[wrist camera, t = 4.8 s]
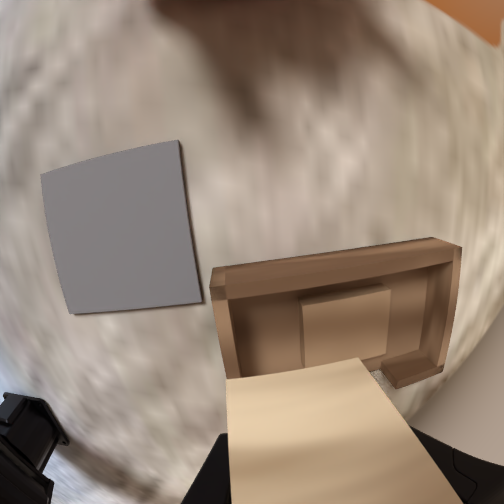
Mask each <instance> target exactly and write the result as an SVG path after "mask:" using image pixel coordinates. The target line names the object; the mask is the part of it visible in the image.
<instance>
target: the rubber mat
mask: <svg viewBox="0 0 504 504" xmlns="http://www.w3.org/2000/svg"><path fill="white" fill-rule="evenodd" d="M41 184H42V193H43V201H44V208H45V214H46V220H47V226H48V232H49V237H50V242H51V247H52V251H53V256H54V260H55V264H56V269H57V273H58V276H59V280H60V284H61V288H62V291H63V295H64V298H65V301H66V305H67V308H68V311H69V314H78V313H92V312H105V311H118V310H129V309H140V308H150V307H160V306H170V305H179V304H188V303H197V302H202V295H201V290H200V284H199V279H198V273H197V267H196V262H195V256H194V249H193V243H192V237H191V230H190V224H189V217H188V210H187V203H186V196H185V188H184V181H183V173H182V165H181V156H180V147H179V140H174V141H168V142H163V143H157V144H152V145H148V146H143V147H138V148H134V149H129V150H125V151H121V152H116V153H112V154H108V155H104V156H101V157H97V158H93V159H89V160H86V161H82V162H79V163H75V164H72V165H69V166H65V167H62V168H59V169H56V170H53V171H50V172H47V173H44V174H41Z"/></svg>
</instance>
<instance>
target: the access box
mask: <svg viewBox="0 0 504 504" xmlns="http://www.w3.org/2000/svg"><path fill="white" fill-rule="evenodd" d="M461 256H462V247H460V246H457V245H454V244H451V243H449V242H446V241H443V240H440V239H437V238H434V237H429V238H423V239H416V240H409V241H403V242H396V243H389V244H382V245H375V246H368V247H362V248H355V249H348V250H341V251H333V252H326V253H319V254H312V255H305V256H298V257H290V258H283V259H276V260H268V261H261V262H253V263H246V264H238V265H231V266H223V267H216V268H213V269H212V275H211V280H210V286H209V288H210V294H211V300H212V305H213V311H214V316H215V322H216V327H217V332H218V337H219V343H220V348H221V353H222V358H223V363H224V367H225V372H226V377H227V379H237V378H245V377H253V376H261V375H268V374H275V373H281V372H287V371H293V370H299V369H305V368H310V367H315V366H320V365H325V364H330V363H335V362H339V361H344V360H348V359H353V358H357V357H358V358H359V359H360V361H361V362H362V363H363V365H364V366H365V367H366V369H367V370H368V371H369V372H370V371H374V370H377V369H381V370H382V372H383V373H384V374H385V376H386V377H387V378H388V380H389V381H390V382H391V384H392V385H393V386H394V388H395V389H399V388H402V387H404V386H407V385H410V384H413V383H415V382H418V381H421V380H423V379H426V378H428V377H431V376H433V375H436V374H438V373H441V372H443V368H444V364H445V360H446V356H447V351H448V347H449V342H450V338H451V333H452V327H453V322H454V316H455V310H456V303H457V296H458V288H459V279H460V268H461Z"/></svg>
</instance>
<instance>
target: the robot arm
mask: <svg viewBox="0 0 504 504" xmlns="http://www.w3.org/2000/svg"><path fill="white" fill-rule="evenodd" d="M3 397H4V399H5V400H4V401H3V402H2V404H1V405H0V504H51V498H52V492H53V487H54V482H53V481H52V480H51V479H48V478H47V477H46V476H45V475H43V474H42V473H43V470H44V468H45V466H46V464H47V462H48V460H49V458H50V456H51V455H52V453H53V451H54V449H55V447H56V445H57V444H60V445H65V446H68V445H69V440H68V439H67V437H66V436H65V434H64V433H63V431H62V430H61V428H60V427H59V425H58V424H57V422H56V420H55V419H54V417H53V416H52V414H51V412H50V411H49V409H48V407H47V405H46V404H45V402H44V401H43V400H42V399H40V398H34V397H28V396H22V395H17V394H11V393H7V392H5V393H4V394H3ZM408 426H409V427H410V428H411V430H412V431H413V433H414V434H415V435H416V437H417V438H418V440H419V441H420V442H421V444H422V445H423V447H424V448H425V449H426V451H427V452H428V454H429V455H430V456H431V458H432V459H433V461H434V462H435V463H436V465H437V466H438V468H439V469H440V471H441V472H442V473H443V475H444V476H445V478H446V479H447V481H448V482H449V483H450V485H451V486H452V488H453V489H454V491H455V492H456V494H457V495H458V497H459V498H460V499H461V501H462V502H463V504H504V466H501V465H498V464H494V463H490V462H487V461H484V460H481V459H478V458H476V457H473V456H471V455H468V454H466V453H463V452H461V451H459V450H457V449H455V448H452V447H451V446H449V445H447V444H445V443H443V442H440V441H438V440H437V439H434V438H433V437H431V436H429V435H427V434H425V433H423V432H420V431H419V430H417V429H415V428H413V427H411V426H410V425H408ZM181 504H232V498H231V483H230V465H229V447H228V433H222V434H220V435H219V436H218V438H217V440H216V442H215V444H214V446H213V447H212V449H211V451H210V453H209V455H208V457H207V458H206V460H205V462H204V464H203V466H202V467H201V469H200V471H199V473H198V475H197V476H196V478H195V480H194V482H193V483H192V485H191V487H190V489H189V490H188V492H187V494H186V495H185V497H184V499H183V501H182V502H181Z"/></svg>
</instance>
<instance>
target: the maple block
mask: <svg viewBox="0 0 504 504" xmlns="http://www.w3.org/2000/svg"><path fill="white" fill-rule="evenodd" d="M226 400H227V425H228V447H229V465H230V483H231V498H232V504H463V502H462V501H461V499H460V498H459V497H458V495H457V494H456V492H455V491H454V489H453V488H452V486H451V485H450V483H449V482H448V481H447V479H446V478H445V476H444V475H443V473H442V472H441V471H440V469H439V468H438V466H437V465H436V463H435V462H434V461H433V459H432V458H431V456H430V455H429V454H428V452H427V451H426V449H425V448H424V447H423V445H422V444H421V442H420V441H419V440H418V438H417V437H416V435H415V434H414V433H413V431H412V430H411V428H410V427H409V426H408V424H407V423H406V421H405V420H404V419H403V417H402V416H401V415H400V413H399V412H398V411H397V409H396V408H395V406H394V405H393V404H392V402H391V401H390V400H389V398H388V397H387V396H386V394H385V393H384V391H383V390H382V389H381V387H380V386H379V385H378V383H377V382H376V381H375V379H374V378H373V377H372V375H371V374H370V373H369V371H368V370H367V369H366V367H365V366H364V365H363V363H362V362H361V361H360V359H359V358H358V357H357V358H353V359H348V360H344V361H339V362H335V363H330V364H325V365H320V366H315V367H310V368H305V369H299V370H293V371H287V372H281V373H275V374H268V375H261V376H253V377H245V378H237V379H227V380H226Z"/></svg>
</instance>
